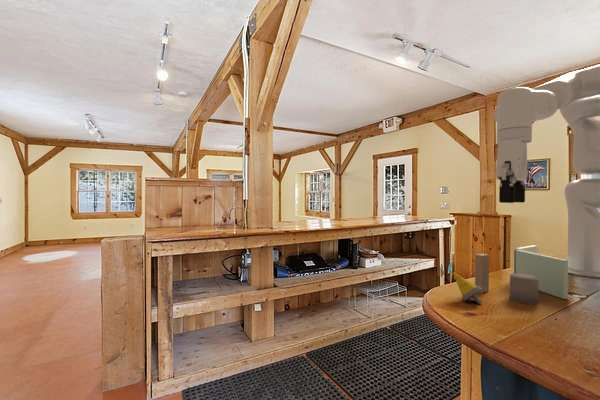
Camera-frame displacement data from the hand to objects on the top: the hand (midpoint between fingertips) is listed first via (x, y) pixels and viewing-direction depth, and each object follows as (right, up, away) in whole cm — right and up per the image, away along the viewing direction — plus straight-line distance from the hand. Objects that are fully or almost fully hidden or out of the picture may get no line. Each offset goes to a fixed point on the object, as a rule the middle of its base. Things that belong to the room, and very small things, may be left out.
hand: (512, 202), depth 79 cm
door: (+12, -25, +6) cm, 28 cm away
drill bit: (-13, -26, -1) cm, 29 cm away
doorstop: (+3, -25, -1) cm, 26 cm away
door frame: (+7, -25, +12) cm, 28 cm away
